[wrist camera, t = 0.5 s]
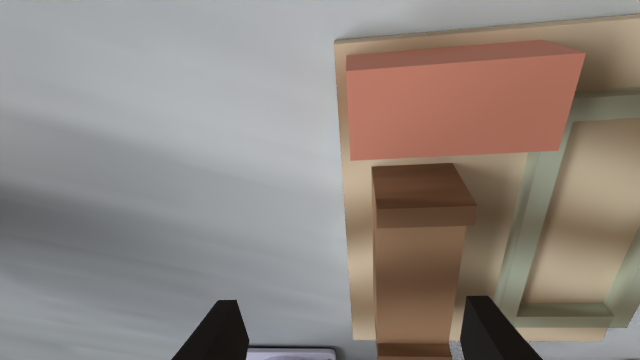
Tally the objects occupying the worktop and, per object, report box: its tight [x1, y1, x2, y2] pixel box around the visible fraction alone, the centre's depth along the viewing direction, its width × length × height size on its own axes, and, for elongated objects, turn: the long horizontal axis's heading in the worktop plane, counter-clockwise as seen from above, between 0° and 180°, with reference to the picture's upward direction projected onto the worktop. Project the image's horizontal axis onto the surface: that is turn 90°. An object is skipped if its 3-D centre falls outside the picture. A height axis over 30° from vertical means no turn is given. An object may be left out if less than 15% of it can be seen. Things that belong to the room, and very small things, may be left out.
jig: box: [334, 14, 640, 341], centre depth 19 cm, size 20×16×2 cm
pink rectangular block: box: [346, 40, 586, 161], centre depth 14 cm, size 4×8×3 cm, turn 95°
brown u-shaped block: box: [371, 163, 477, 360], centre depth 18 cm, size 11×4×4 cm, turn 5°
